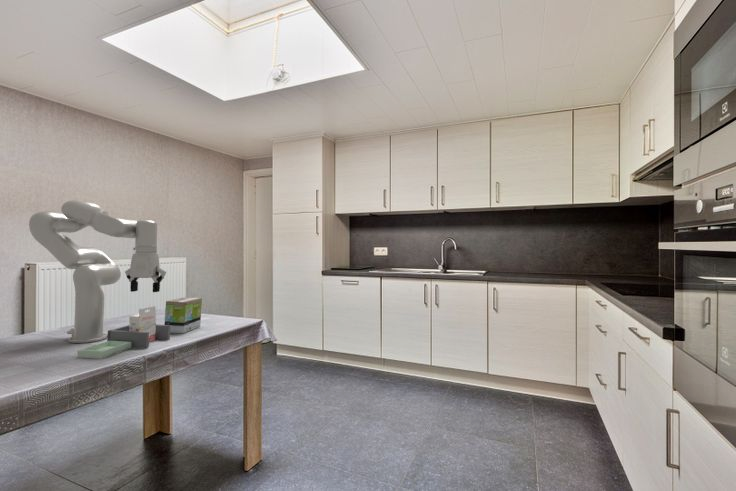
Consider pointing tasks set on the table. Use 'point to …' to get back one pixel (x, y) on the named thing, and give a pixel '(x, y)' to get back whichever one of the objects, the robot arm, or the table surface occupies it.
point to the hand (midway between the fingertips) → (145, 291)
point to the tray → (104, 349)
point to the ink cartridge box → (144, 322)
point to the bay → (138, 335)
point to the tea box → (183, 314)
